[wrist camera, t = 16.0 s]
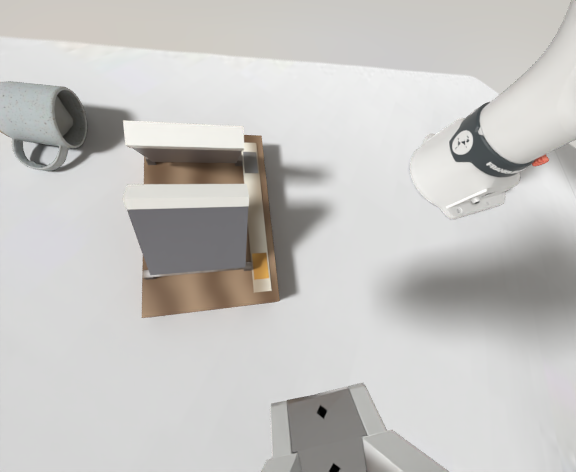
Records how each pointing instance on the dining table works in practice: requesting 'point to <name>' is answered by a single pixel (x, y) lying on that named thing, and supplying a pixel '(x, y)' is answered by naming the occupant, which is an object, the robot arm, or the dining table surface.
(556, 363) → the dining table surface
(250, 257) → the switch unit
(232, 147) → the lever slate
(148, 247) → the grey board
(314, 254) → the dining table surface
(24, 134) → the ceramic mug
